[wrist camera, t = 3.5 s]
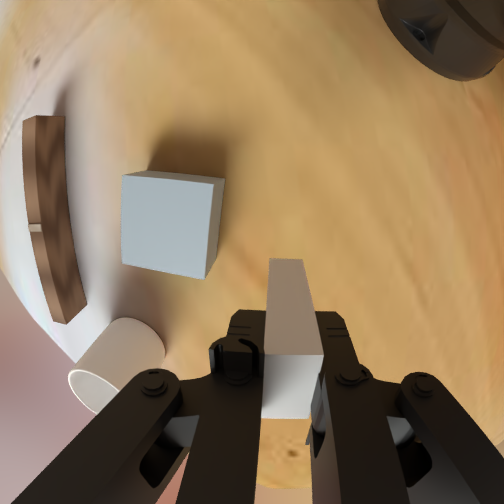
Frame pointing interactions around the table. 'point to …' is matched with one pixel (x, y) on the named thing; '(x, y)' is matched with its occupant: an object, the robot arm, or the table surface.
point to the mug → (115, 361)
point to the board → (51, 215)
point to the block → (171, 221)
